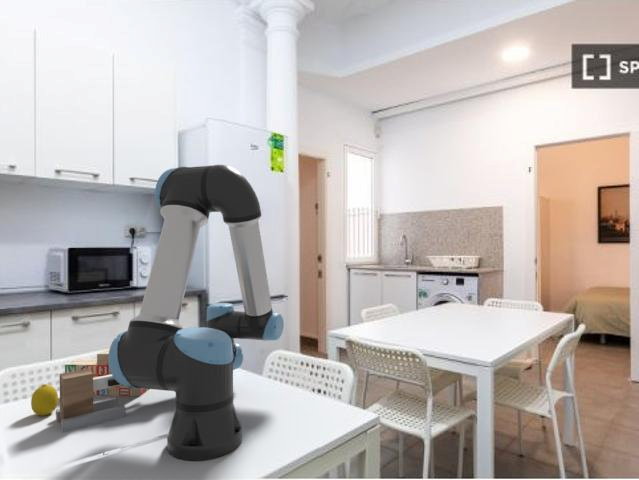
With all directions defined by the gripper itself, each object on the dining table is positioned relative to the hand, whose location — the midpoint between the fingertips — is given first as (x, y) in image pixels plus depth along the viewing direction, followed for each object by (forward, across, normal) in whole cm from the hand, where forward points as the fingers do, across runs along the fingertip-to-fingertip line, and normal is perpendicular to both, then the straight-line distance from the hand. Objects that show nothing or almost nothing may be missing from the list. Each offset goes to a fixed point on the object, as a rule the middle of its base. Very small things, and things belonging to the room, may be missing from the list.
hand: (91, 384), depth 104 cm
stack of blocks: (-7, +16, -9) cm, 20 cm away
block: (+3, 0, -8) cm, 8 cm away
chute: (0, 0, -8) cm, 8 cm away
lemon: (+8, +10, -9) cm, 15 cm away
